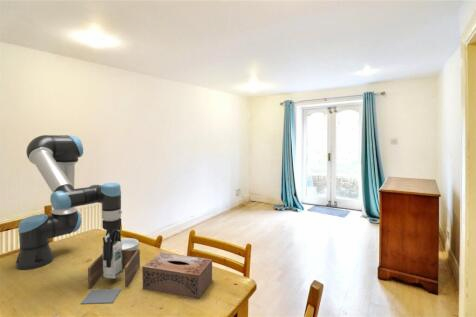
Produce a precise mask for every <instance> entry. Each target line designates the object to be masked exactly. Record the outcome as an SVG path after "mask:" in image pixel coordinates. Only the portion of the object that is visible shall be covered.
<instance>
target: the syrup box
mask: <svg viewBox="0 0 476 317" xmlns="http://www.w3.org/2000/svg"><path fill="white" fill-rule="evenodd" d="M101 248H102V250H103V245H102V246H101ZM112 250H113V253H112V259H113V274H106V261H103V272H104V274H103V277H104V278H108V279H116V278H117V277H119V276H120V275H121V274H122V273H124V269H123V259H122V242H121V241H115V243H114V244H113V247H112Z"/></svg>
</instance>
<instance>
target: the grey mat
mask: <svg viewBox="0 0 476 317" xmlns="http://www.w3.org/2000/svg"><path fill="white" fill-rule="evenodd" d="M121 291H122V288H112V289H109V288H107V289H90V291H89V292H88V294H86V296H85V297H84V298H83V299H82V301H81V302H80V303H79V304H80V305H96V304H99V305H100V304H101V305H102V304H113V303H114V302H115V300H116V299H117V298H118V296H119V294H120V293H121Z"/></svg>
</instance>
